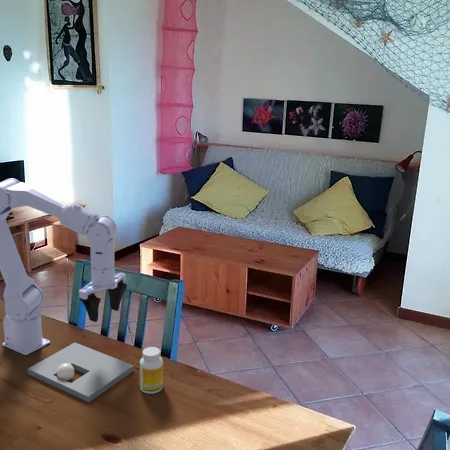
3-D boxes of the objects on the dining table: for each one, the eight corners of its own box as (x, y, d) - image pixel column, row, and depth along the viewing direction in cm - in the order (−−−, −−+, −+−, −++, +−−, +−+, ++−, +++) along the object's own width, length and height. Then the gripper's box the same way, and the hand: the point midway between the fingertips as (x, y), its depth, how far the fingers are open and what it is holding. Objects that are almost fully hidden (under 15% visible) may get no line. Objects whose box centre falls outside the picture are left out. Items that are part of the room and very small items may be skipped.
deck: (28, 374, 121) (27, 368, 121) (75, 347, 134) (74, 342, 133) (88, 402, 112) (88, 396, 111) (133, 370, 124) (133, 365, 124)
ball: (52, 365, 118) (67, 357, 121) (53, 378, 120) (67, 369, 123) (63, 375, 116) (77, 365, 119) (64, 387, 118) (78, 377, 121)
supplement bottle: (135, 386, 118) (134, 349, 116) (155, 378, 122) (155, 342, 119) (147, 397, 114) (147, 360, 112) (167, 389, 118) (167, 352, 115)
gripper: (93, 278, 118) (95, 330, 122) (134, 260, 130) (135, 308, 134) (71, 271, 122) (74, 322, 125) (113, 255, 134) (115, 302, 137)
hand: (104, 315), depth 130 cm, fingers open, 7 cm apart
